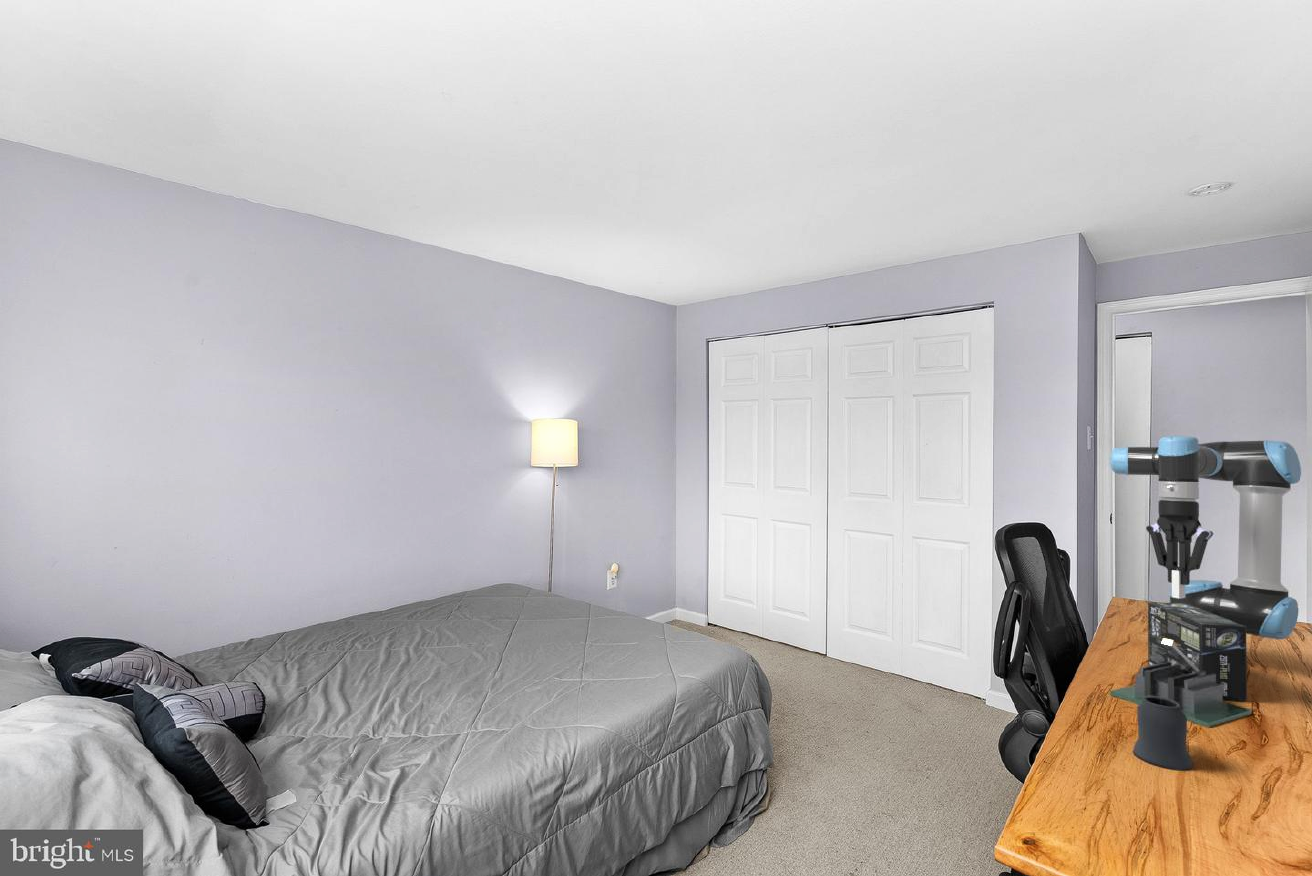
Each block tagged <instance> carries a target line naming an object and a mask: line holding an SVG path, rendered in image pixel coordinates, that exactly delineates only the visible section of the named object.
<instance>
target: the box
mask: <svg viewBox="0 0 1312 876" xmlns="http://www.w3.org/2000/svg"><path fill="white" fill-rule="evenodd" d="M1147 613H1148V615H1147V628H1148V629H1147V636H1148V637H1147V638H1148V640H1147V646H1148V647H1147V649H1148V651H1147V652H1148V653H1147V654H1148V655H1147V656H1148V658H1147V660H1148V661H1147V664H1148V665H1147V666H1150V665H1155V664H1159V663H1164V662H1171V665H1176V664H1180V665H1181V669H1187V668H1186V667H1185V666H1184V665H1183V664H1182V663H1181V662H1180V661H1179V660H1178V659H1177V658H1176V657H1175V656H1174V655H1173V654H1172V653H1171V652H1170V651H1169V650H1168V649H1167V648H1166V647H1165V646H1164V645H1163V644H1162V641H1163V638H1165V639H1169V640H1173V641H1174V642H1175V643H1176V644H1177V646H1176V647H1177V648H1178V649H1179V650H1180V651H1181V652H1182V653H1183V654H1184V655H1185V656H1186V657H1187V658H1188V659H1189V660H1190V661H1191V662H1192V663H1193V664H1194V665H1195V666H1196V667H1197V668H1198V669H1199V670H1200V671H1202V670H1203V671H1206V674H1211V673H1214V674H1216V683H1220V684H1222V697H1223V702H1225V701H1226V702H1240V703H1247V694H1248V693H1247V691H1248V690H1247V688H1248V687H1247V686H1248V685H1247V684H1248V683H1247V682H1248V681H1247V680H1248V679H1247V676H1248V674H1247V673H1248V669H1247V665H1248V664H1247V663H1248V662H1247V661H1248V660H1247V652H1248V651H1247V634H1246V626H1244V625H1241V624H1239V623H1236V622H1234V621H1231V620H1228V619H1226V618H1223V617H1221V616H1218V615H1215V614H1213V613H1210V612H1207V611H1205V610H1202V609H1199V608H1197V607H1194V606H1192V605H1189V604H1185V603H1170V602H1163V601H1161V602H1160V601H1159V602H1157V601H1155V602H1154V601H1148V604H1147Z"/></svg>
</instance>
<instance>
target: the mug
mask: <svg viewBox="0 0 1312 876" xmlns="http://www.w3.org/2000/svg"><path fill="white" fill-rule="evenodd" d="M1136 711H1137V712H1136V713H1137V717H1136V721H1137V727H1138V728H1137V732H1138V733H1137V734H1138V735H1137V736H1138V738H1137V740H1136V741H1135V743H1134V746H1133V751H1132V753H1133V755H1134V756H1135V757H1136V758H1137V759H1139V760H1141V761H1142V762H1144V763H1147V764H1149V765H1151V766H1153V767H1158V768H1161V769H1165V770H1171V771H1178V772H1186V771H1190V770H1193V767H1194V765H1193V762H1192V758H1191V755H1190V753H1189V752H1188V749H1187V733H1188V723H1187V722H1188V721H1187V717H1186V716H1185V714H1184V713H1183V711H1182V710H1181V706H1180V704H1179V703H1177V702H1176V701H1173V700H1171V699H1167V698H1163V697H1158V696H1144V698H1143V700H1142V702H1141V703H1140V704H1138V705H1137V707H1136Z"/></svg>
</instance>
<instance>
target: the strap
mask: <svg viewBox="0 0 1312 876" xmlns="http://www.w3.org/2000/svg"><path fill="white" fill-rule="evenodd" d="M1162 644H1163V645H1164V646H1165V647H1166V648H1167V649H1168V650H1169V651H1170V652H1171V653H1172V654H1173V655H1174V656H1175V657H1176V658H1177V659H1178V660H1179V661H1180V662H1181V663H1182V664H1183V665H1184V666H1185V667H1186V668H1187V669H1188V672H1189V673H1194V672H1198V671H1200V670H1199V669H1198V668H1197V667H1196V666H1195V665H1194V664H1193V663H1192V662H1191V661H1190V660H1189V659H1188V658H1187V657H1186V656H1185V655H1184V654H1183V653H1182V652H1181V651H1180V650H1179V649H1178V648H1177V647H1176V646H1177V644H1176V643H1175V642H1174V641H1173V640H1169V639H1165V638H1163V641H1162Z"/></svg>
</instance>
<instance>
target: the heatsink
mask: <svg viewBox="0 0 1312 876" xmlns="http://www.w3.org/2000/svg"><path fill="white" fill-rule="evenodd" d="M1139 668H1140V672H1139V673H1136V674H1134V684H1133V685H1129V686H1125V687H1121V688H1116V689H1112V690H1110V692H1109V694H1110V696H1112V697H1115V698H1119V699H1122V700H1124V701H1128V702H1130V703H1132V704H1133V703H1134V704H1136V705H1139V704H1140V703H1141V702H1142V700H1143V698H1144V696H1158V697H1163V698H1167V699H1171V700H1173V701H1176V702H1177V703H1179V704H1180V706H1181V710H1182V711H1183V713H1184V714H1185V716H1186V717H1187V722H1190V723H1194V724H1197V725H1200V726H1202V727H1206V728H1211V727H1215V726H1217V725H1218V726H1219V725H1221V724H1224V723H1227V722H1231V721H1234V720H1238V719H1241V718H1244V717H1248V716H1250V715H1252V709H1249V708H1246V707H1242V706H1239V705H1235V704H1231V703H1228V702H1225V701H1223V697H1222V684H1220V683H1216V674H1214V673H1211V674H1206V671H1203V670H1202V671H1198V672H1194V673H1189V672H1188V669H1181V665H1180V664H1176V665H1171V662H1164V663H1159V664H1155V665H1150V666H1148V665H1146V666H1141V667H1139Z"/></svg>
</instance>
